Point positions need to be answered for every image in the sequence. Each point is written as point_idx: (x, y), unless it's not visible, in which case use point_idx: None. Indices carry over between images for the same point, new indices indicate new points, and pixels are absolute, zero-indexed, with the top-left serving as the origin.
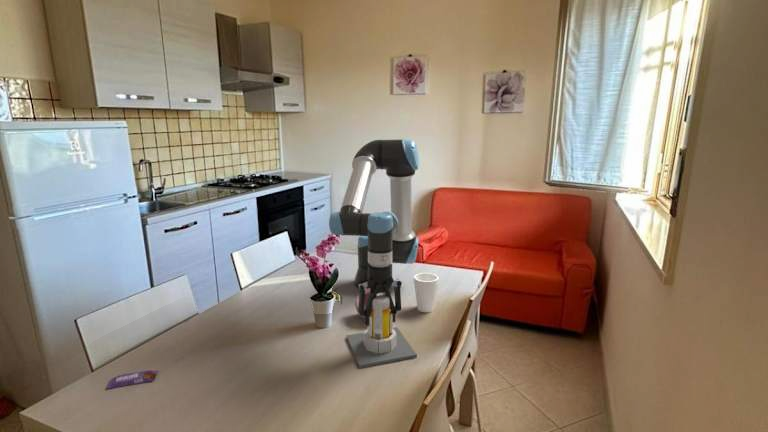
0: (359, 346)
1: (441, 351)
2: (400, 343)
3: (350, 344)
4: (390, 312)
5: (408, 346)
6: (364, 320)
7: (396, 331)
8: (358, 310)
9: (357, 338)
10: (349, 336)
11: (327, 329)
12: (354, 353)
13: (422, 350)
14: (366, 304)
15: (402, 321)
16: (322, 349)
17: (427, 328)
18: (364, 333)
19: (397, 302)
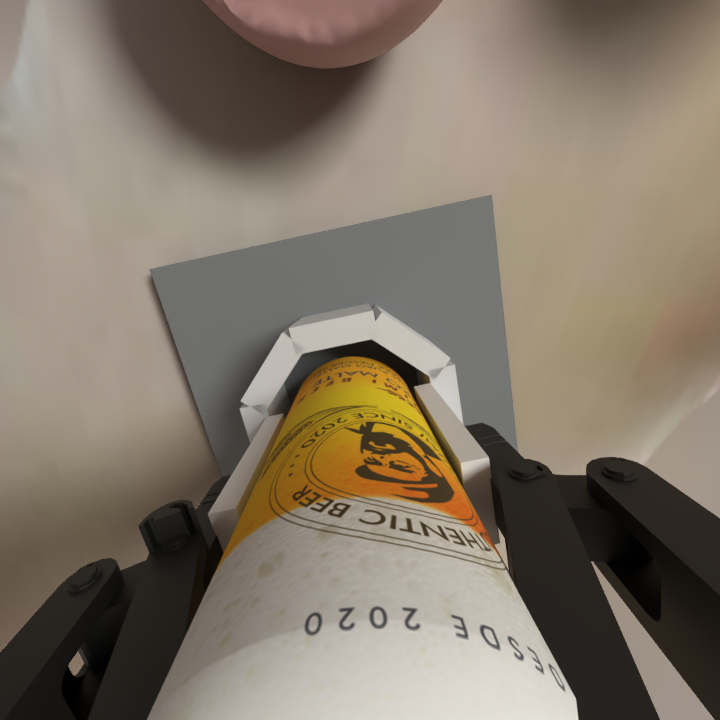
0: (239, 402)
1: (646, 452)
2: (467, 396)
3: (187, 375)
4: (484, 505)
5: (502, 429)
6: (203, 506)
7: (474, 257)
8: (52, 599)
9: (223, 317)
10: (171, 287)
11: (9, 132)
12: (216, 460)
13: (560, 435)
14: (115, 661)
15: (549, 72)
16: (43, 377)
17: (678, 205)
18: (247, 418)
19: (686, 676)
